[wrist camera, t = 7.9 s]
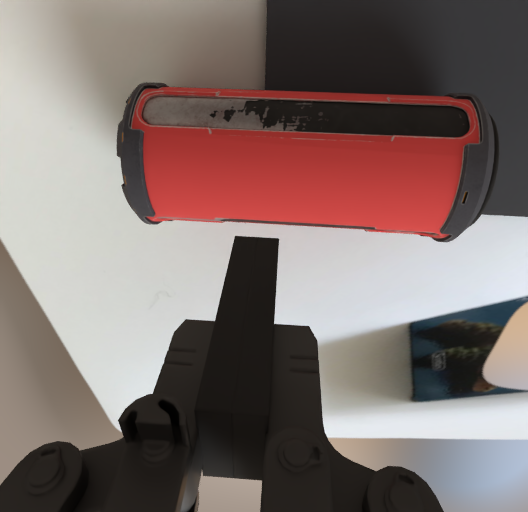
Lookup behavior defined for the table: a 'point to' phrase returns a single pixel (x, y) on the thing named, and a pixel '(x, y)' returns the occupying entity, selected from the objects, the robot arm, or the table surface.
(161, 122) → the speaker
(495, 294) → the table surface
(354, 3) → the mat
